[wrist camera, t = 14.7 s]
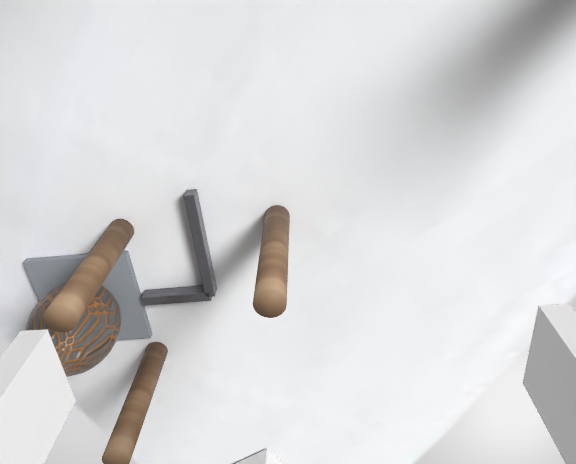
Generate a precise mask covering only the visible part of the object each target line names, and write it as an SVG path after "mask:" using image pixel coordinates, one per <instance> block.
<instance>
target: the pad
mask: <svg viewBox="0 0 576 464" xmlns="http://www.w3.org/2000/svg"><path fill="white" fill-rule="evenodd" d="M87 255H88V254H79V255H67V256H55V257H43V258H31V259H26V260H25V261H24V262H23V264H24V267H25V269H26V272H27V274H28V276H29V279H30V281H31V284H32V286H33V289H34V291H35V294H36V296H37V298H38V301H40V300H41V299H42V298H43V297H44V296H45V295H46V294H47V293H48V292H50V291H51V290H52V289H54V288H56V287H58V286H59V285H62V284H64V283H67V281H68V280H69V279H70V277H71V276H72V275H73V273H74V272H75V271H76V269H77V268H78V267H79V265H80V264H81V263H82V261H83V260H84V259H85V257H86V256H87ZM101 286H103V287H105V288H106V289H107V290H109V291H110V292H111V293H112V295H113V296H114V297H115V299H116V300H117V302H118V304H119V307H120V312H121V327H120V332H119V335H118V337H117V340H130V339H144V338H151V336H152V331H151V328H150V324H149V321H148V318H147V314H146V311H145V307H144V305H143V302H142V299H141V294H140V290H139V287H138V283H137V280H136V276H135V273H134V270H133V266H132V263H131V259H130V256H129V252H128V251H123V252H122V254H121V255H120V257H119V258H118V260H117V261H116V263H115V265H114V266H113V268H112V269H111V271H110V273H109V274H108V276H107V277H106V279H105V280H104V282H103V284H102V285H101Z"/></svg>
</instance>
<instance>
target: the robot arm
mask: <svg viewBox="0 0 576 464" xmlns="http://www.w3.org/2000/svg"><path fill="white" fill-rule="evenodd" d="M523 384H524V386H525V388H526V390H527V392H528V394H529V396H530V397H531V399H532V401H533V403H534V405H535V407H536V408H537V410H538V413H539V414H540V416H541V418H542V420H543V422H544V424H545V425H546V428H547V429H548V431H549V433H550V435H551V437H552V439H553V441H554V443H555V444H556V446H557V448H558V450H559V452H560V454H561V456H562V458H563V459H564V461H565V463H566V464H576V312H575V311H574V310H573V308H572V307H571V306H570V304H554V305H539V306H538V311H537V316H536V320H535V325H534V330H533V335H532V340H531V345H530V350H529V355H528V360H527V364H526V370H525V374H524V379H523ZM75 402H76V400H75V397H74V395H73V392H72V390H71V387H70V384H69V382H68V379H67V377H66V374H65V372H64V369H63V367H62V364H61V362H60V359H59V357H58V354H57V352H56V349H55V347H54V344H53V342H52V339H51V337H50V334H49V332H48V329H47V330H27V331H20V332H19V333H18V335H17V336H16V337H15V339H14V340H13V341H12V343H11V344H10V345H9V347H8V348H7V349H6V351H5V352H4V353H3V354H2V356H1V357H0V464H44V463H45V461H46V459H47V457H48V455H49V453H50V451H51V449H52V447H53V445H54V443H55V441H56V439H57V437H58V436H59V434H60V432H61V430H62V428H63V426H64V423H65V422H66V420H67V418H68V416H69V414H70V412H71V410H72V408H73V406H74V404H75Z"/></svg>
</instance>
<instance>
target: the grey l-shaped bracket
mask: <svg viewBox="0 0 576 464" xmlns="http://www.w3.org/2000/svg"><path fill="white" fill-rule="evenodd" d="M184 200H185V204H186V209H187V213H188V218H189V223H190V227H191V232H192V236H193V241H194V246H195V250H196V255H197V259H198V264H199V268H200V273H201V278H202V282H203V286H191V287H178V288H165V289H152V290H145V291H144V293H143V295H142V297H141V299H142V302H143V305H156V304H169V303H183V302H196V301H210V300H211V299H212V296H215V294H216V290H217V286H216V282H215V277H214V272H213V267H212V262H211V257H210V252H209V247H208V242H207V237H206V232H205V227H204V223H203V218H202V213H201V208H200V203H199V198H198V193H197V189H193V190H187V191H186V193H185V195H184Z"/></svg>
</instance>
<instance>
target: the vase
mask: <svg viewBox="0 0 576 464" xmlns="http://www.w3.org/2000/svg"><path fill="white" fill-rule="evenodd" d="M65 284H66V283H64V284H62V285H59V286H58V287H56V288H54V289H52V290H51V291H50V292H48V293H47V294H46V295H45V296H44V297H43V298H42V299H41V300H40V301H39V302H38V303H37V305H36V306H35V307H34V309H33V311H32V313H31V314H30V317H29V319H28V322H27V326H26V331H27V330H47V329H48V332H49V334H50V337H51V339H52V342H53V344H54V347H55V349H56V352H57V354H58V357H59V359H60V362H61V364H62V367H63V369H64V372H65V374H66V377H68V376H72V375H76V374H80V373H83V372H85V371H88V370H90V369H91V368H93V367H94V366H96V365H97V364H98V363H100V362H101V361H102V360H103V359H104V358H105V357H106V356H107V355H108V353H109V352H110V351H111V349H112V348H113V346H114V344H115V342H116V340H117V337H118V335H119V332H120V327H121V312H120V307H119V304H118V302H117V300H116V299H115V297H114V296H113V295H112V293H111V292H110V291H109V290H107V289H106V288H105V287H103V286H101V287H100V288H99V290H98V292H97V293H96V295H95V296H94V298H93V299H92V301H91V303H90V304H89V306H88V307H87V309H86V310H85V312H84V314H83V315H82V317H81V318H80V320H79V322H78V323H77V325H76V326H75V328H74V329H73V330H71V331H69V332H57V331H55V330H53V329H51V328H50V327H48V326H47V324H46V323H45V321H44V318H43V315H44V312H45V310H46V309H47V308H48V306H49V305H50V304H51V302H52V301H53V300H54V298H55V297H56V296H57V294H58V293H59V292H60V291H61V289H62V288H63V287H64V285H65Z"/></svg>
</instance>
